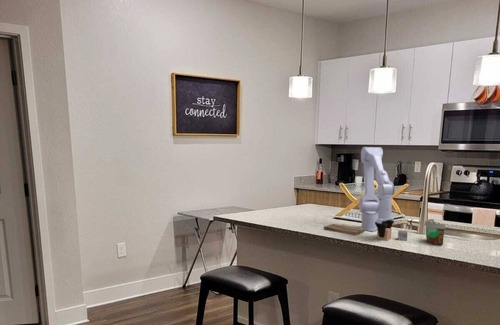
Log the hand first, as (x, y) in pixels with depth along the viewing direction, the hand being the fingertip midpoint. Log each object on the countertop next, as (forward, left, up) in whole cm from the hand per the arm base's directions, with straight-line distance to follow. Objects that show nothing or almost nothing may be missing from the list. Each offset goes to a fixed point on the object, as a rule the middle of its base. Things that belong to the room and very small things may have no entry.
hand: (384, 235), depth 184 cm
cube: (0, 0, -2) cm, 2 cm away
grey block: (-5, +7, -2) cm, 9 cm away
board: (-2, -22, -1) cm, 22 cm away
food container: (-9, +19, -2) cm, 21 cm away
